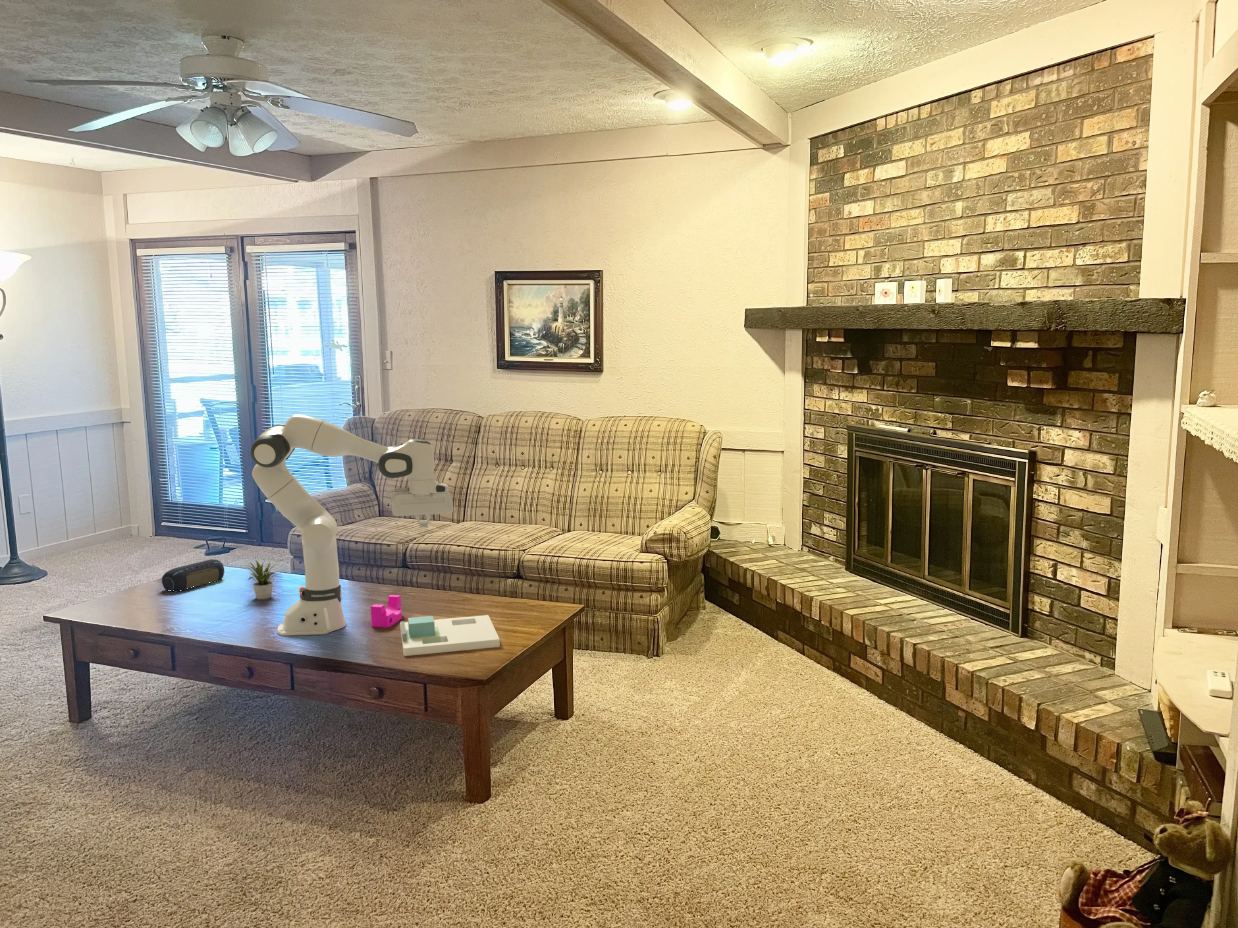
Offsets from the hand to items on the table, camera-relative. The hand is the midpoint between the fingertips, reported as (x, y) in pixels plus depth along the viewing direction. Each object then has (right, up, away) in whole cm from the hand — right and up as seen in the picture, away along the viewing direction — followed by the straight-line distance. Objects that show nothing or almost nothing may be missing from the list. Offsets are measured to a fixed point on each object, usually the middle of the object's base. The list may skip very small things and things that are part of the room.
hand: (423, 527), depth 313 cm
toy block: (-15, -34, +13) cm, 40 cm away
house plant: (-72, -31, +44) cm, 90 cm away
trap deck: (+10, -36, -6) cm, 38 cm away
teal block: (+1, -34, -9) cm, 35 cm away
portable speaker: (-105, -29, +62) cm, 126 cm away
